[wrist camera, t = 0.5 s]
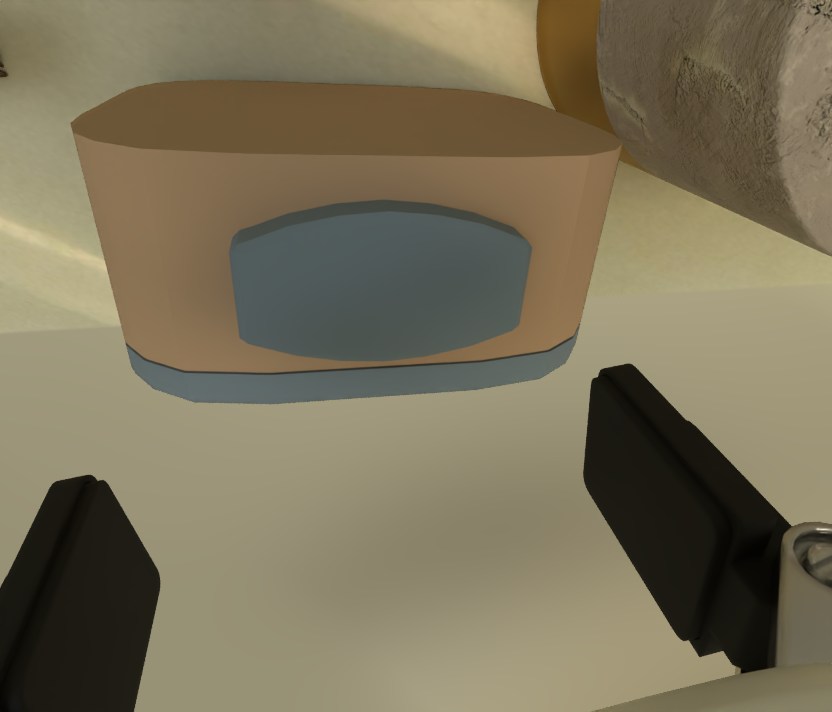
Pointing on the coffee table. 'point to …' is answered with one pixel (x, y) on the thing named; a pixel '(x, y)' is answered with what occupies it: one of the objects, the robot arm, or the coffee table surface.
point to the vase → (707, 97)
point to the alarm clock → (342, 236)
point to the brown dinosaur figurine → (1, 73)
